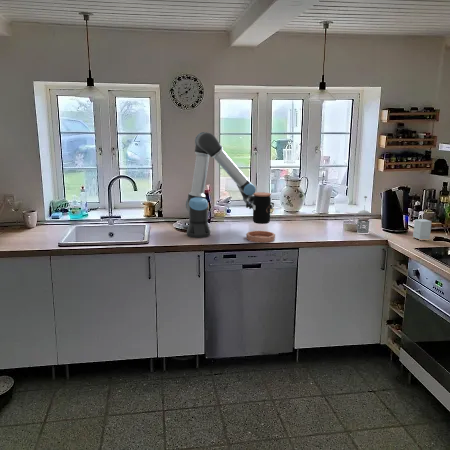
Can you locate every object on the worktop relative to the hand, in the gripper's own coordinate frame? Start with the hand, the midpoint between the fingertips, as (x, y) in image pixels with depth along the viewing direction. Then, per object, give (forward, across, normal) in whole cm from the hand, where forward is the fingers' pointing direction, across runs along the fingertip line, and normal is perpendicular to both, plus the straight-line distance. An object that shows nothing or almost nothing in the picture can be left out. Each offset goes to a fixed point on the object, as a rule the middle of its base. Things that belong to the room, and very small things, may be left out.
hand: (263, 207), depth 264 cm
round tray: (-4, 0, -21) cm, 21 cm away
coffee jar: (-4, 0, -10) cm, 11 cm away
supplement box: (+14, -101, -22) cm, 104 cm away
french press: (-9, -72, -21) cm, 75 cm away
